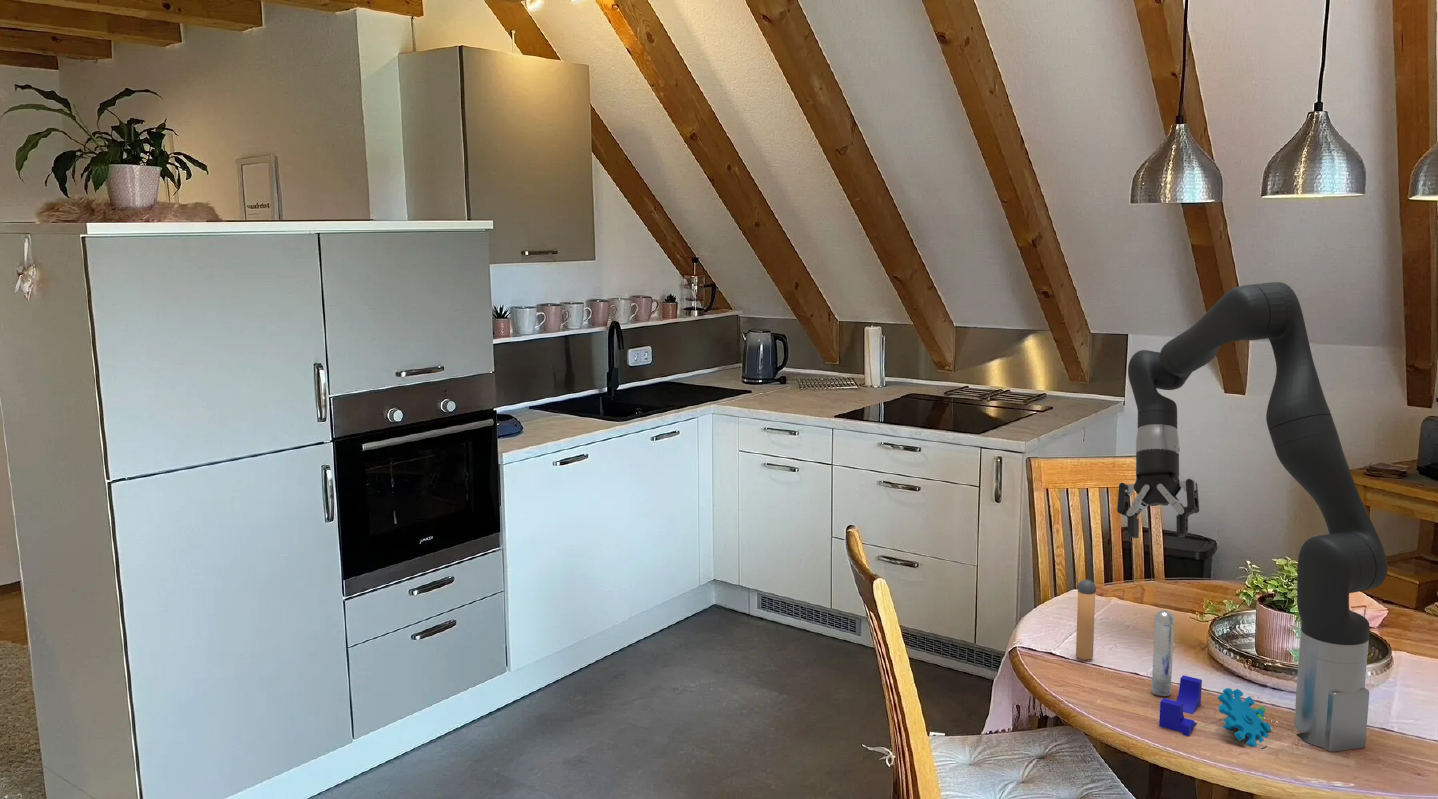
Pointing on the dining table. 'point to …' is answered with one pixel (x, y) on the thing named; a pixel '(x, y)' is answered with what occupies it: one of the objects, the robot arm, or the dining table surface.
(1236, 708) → the gear
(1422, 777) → the dining table surface
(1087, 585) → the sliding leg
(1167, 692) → the fixed leg
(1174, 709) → the cable clip
